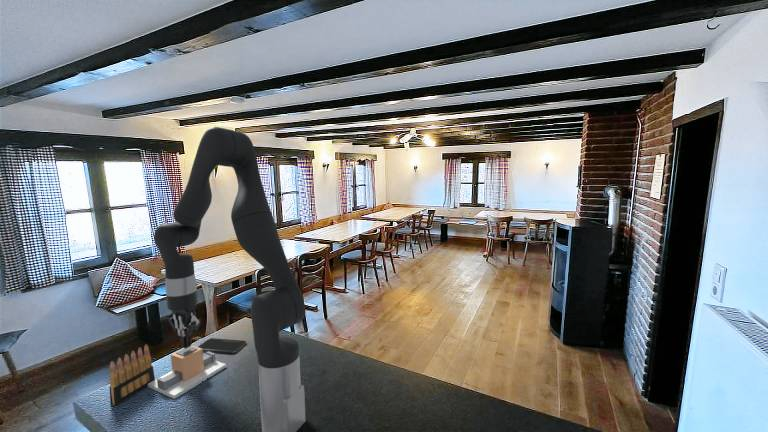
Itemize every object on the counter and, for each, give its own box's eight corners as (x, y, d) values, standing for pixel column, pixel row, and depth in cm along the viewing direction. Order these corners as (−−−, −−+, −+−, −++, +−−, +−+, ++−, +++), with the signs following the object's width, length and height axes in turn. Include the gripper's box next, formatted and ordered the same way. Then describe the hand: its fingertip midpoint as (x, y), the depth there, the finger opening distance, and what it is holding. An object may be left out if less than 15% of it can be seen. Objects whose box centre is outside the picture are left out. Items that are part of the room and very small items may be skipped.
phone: (234, 352, 107) (194, 349, 110) (234, 355, 108) (194, 352, 110) (247, 340, 115) (210, 337, 118) (247, 343, 115) (210, 340, 118)
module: (204, 370, 97) (202, 347, 96) (184, 381, 92) (182, 357, 91) (192, 366, 99) (190, 343, 99) (172, 377, 94) (170, 353, 93)
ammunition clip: (115, 406, 83) (110, 363, 82) (110, 405, 84) (105, 362, 83) (155, 381, 94) (151, 343, 92) (150, 380, 94) (146, 342, 93)
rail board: (226, 367, 100) (225, 356, 100) (174, 398, 86) (173, 386, 86) (200, 358, 105) (199, 348, 105) (148, 387, 91) (146, 375, 91)
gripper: (208, 289, 93) (213, 345, 95) (180, 283, 99) (184, 336, 101) (183, 298, 86) (188, 358, 89) (154, 291, 92) (159, 348, 94)
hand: (186, 346), depth 95 cm, fingers closed
